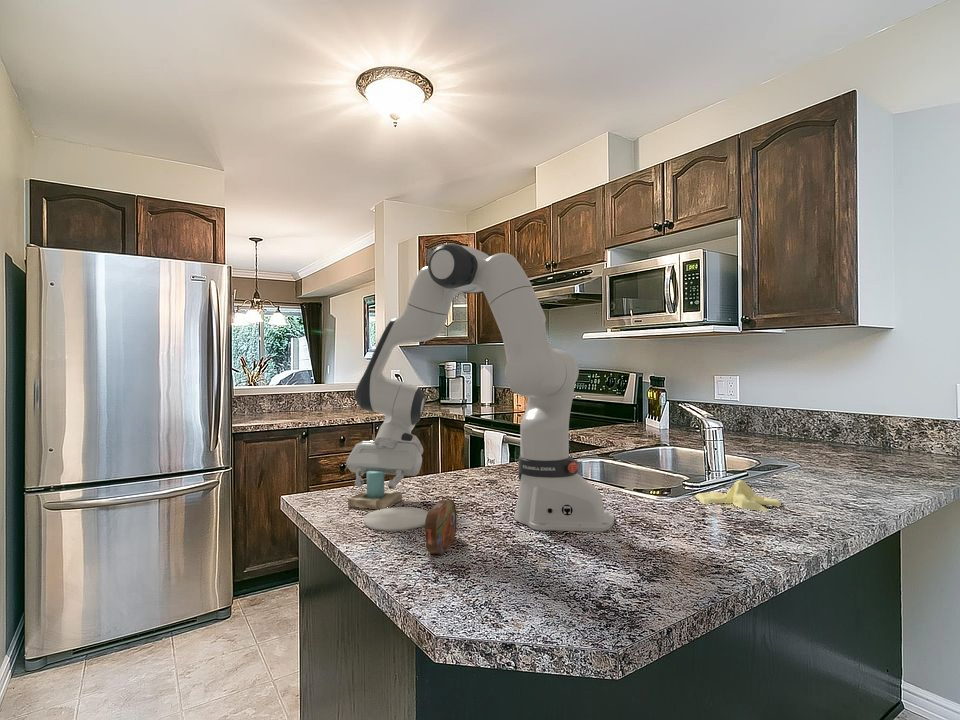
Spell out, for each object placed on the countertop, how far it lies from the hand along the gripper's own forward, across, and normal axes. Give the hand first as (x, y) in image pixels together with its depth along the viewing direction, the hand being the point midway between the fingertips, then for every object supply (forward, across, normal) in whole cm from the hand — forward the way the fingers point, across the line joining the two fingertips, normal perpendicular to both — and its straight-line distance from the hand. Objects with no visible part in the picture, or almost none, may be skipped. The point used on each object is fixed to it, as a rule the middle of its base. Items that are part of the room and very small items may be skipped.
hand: (374, 486), depth 141 cm
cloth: (-14, +89, +22) cm, 93 cm away
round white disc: (+11, +12, -5) cm, 17 cm away
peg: (+3, 0, +4) cm, 4 cm away
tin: (+21, +28, -14) cm, 37 cm away
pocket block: (+3, 0, +4) cm, 4 cm away
